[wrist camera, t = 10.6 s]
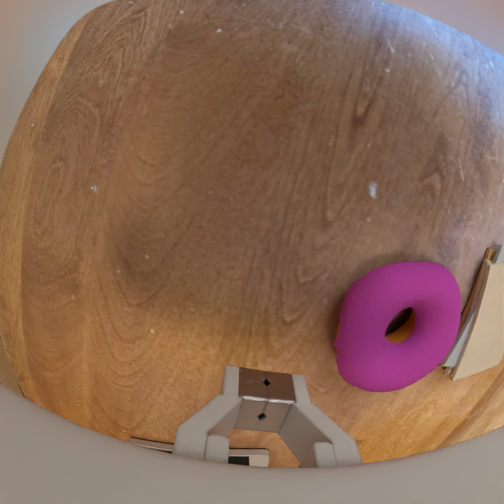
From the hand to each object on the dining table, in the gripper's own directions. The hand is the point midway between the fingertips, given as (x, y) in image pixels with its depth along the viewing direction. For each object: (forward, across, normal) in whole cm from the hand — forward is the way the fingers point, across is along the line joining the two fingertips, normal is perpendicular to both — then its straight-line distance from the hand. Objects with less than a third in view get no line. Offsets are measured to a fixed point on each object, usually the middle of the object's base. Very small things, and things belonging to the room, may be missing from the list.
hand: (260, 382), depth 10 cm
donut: (+10, -11, +1) cm, 14 cm away
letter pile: (+9, -23, 0) cm, 25 cm away
